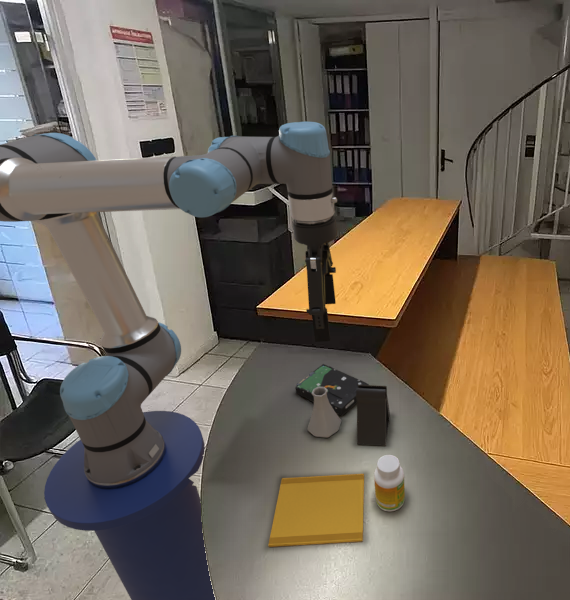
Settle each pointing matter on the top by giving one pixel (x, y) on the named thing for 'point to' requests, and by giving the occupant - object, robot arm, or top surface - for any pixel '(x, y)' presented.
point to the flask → (323, 415)
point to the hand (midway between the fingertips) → (326, 320)
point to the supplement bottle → (389, 483)
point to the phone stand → (372, 415)
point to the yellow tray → (319, 510)
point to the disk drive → (331, 387)
